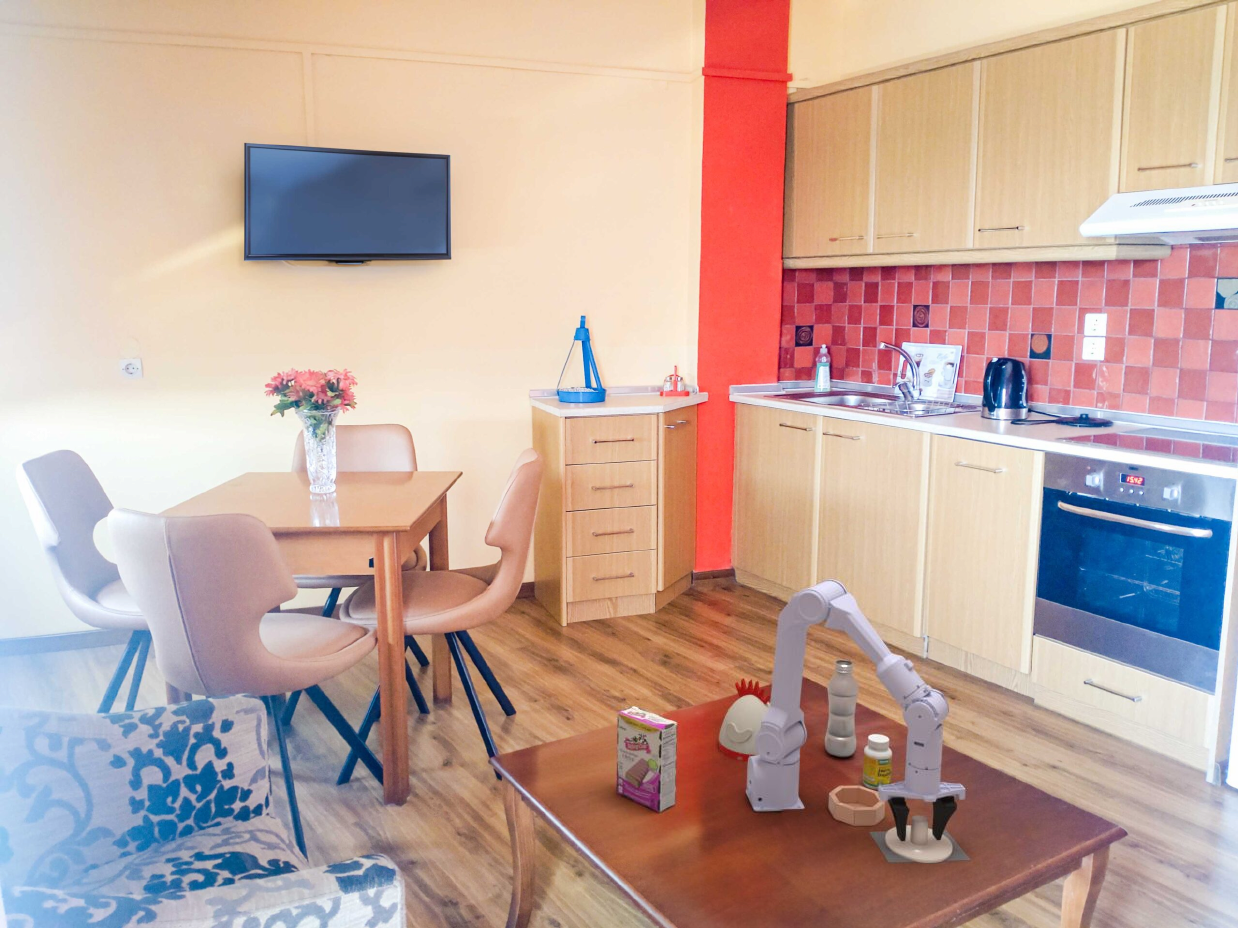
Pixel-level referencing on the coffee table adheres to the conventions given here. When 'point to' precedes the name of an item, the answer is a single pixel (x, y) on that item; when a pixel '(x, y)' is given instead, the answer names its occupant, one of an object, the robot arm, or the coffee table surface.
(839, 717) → the plastic bottle
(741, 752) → the white and red dome
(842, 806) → the bowl
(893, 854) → the mat
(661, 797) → the candy bar box
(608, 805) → the coffee table surface
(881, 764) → the supplement bottle
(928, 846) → the lid
